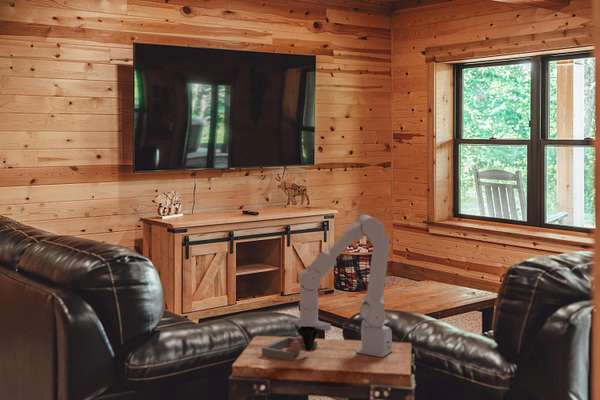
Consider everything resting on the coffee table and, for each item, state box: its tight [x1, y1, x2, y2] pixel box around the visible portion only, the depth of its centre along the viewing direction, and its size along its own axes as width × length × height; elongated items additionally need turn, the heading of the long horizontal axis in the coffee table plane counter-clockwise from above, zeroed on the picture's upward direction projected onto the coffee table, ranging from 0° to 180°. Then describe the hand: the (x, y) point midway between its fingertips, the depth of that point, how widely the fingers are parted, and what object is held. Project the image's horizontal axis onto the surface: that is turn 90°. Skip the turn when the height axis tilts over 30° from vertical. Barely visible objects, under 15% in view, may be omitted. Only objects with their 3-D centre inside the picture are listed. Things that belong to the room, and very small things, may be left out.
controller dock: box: [261, 336, 318, 362], centre depth 239 cm, size 11×15×2 cm
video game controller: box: [285, 335, 304, 357], centre depth 237 cm, size 10×5×7 cm, turn 168°
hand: (309, 349), depth 236 cm, fingers closed
